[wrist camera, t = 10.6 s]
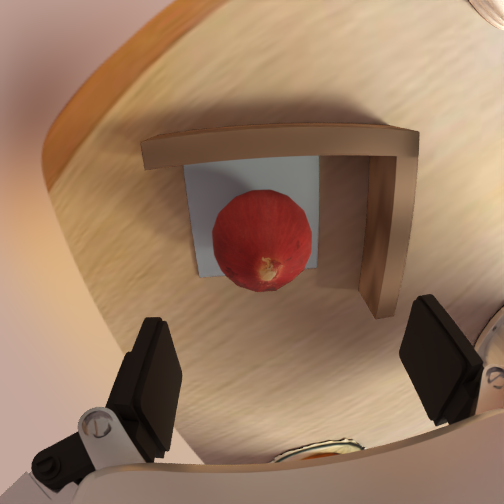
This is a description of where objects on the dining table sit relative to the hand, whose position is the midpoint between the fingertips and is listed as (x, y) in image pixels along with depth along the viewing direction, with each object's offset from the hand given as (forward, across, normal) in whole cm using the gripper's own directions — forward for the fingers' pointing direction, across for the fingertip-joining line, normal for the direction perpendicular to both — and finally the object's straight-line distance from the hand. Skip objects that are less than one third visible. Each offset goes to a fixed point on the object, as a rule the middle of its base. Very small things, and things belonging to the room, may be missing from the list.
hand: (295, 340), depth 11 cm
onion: (+12, +1, 0) cm, 12 cm away
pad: (+12, +1, -1) cm, 12 cm away
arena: (+12, -1, 0) cm, 12 cm away
